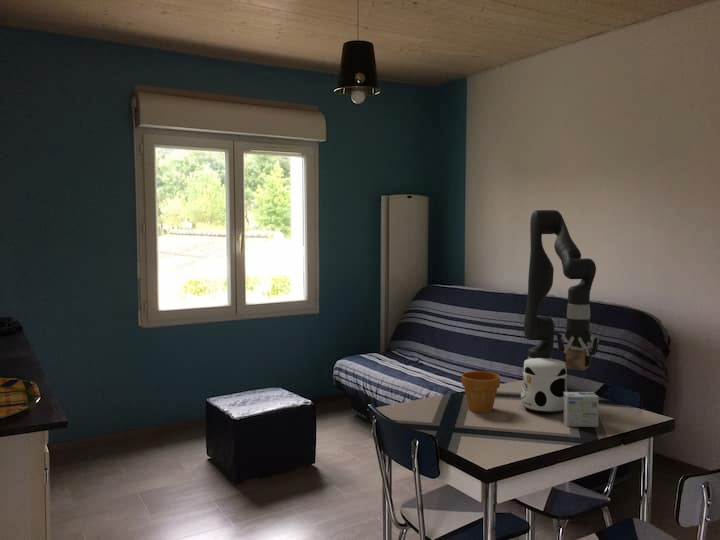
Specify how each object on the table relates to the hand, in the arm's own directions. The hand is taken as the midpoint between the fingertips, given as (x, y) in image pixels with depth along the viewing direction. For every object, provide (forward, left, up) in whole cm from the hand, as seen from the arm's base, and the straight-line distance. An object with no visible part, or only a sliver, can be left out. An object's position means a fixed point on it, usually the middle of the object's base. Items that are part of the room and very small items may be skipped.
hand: (577, 364), depth 211 cm
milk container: (-15, +12, -21) cm, 29 cm away
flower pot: (-35, -1, -21) cm, 41 cm away
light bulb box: (+1, +2, -21) cm, 21 cm away
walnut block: (0, 0, -1) cm, 1 cm away
